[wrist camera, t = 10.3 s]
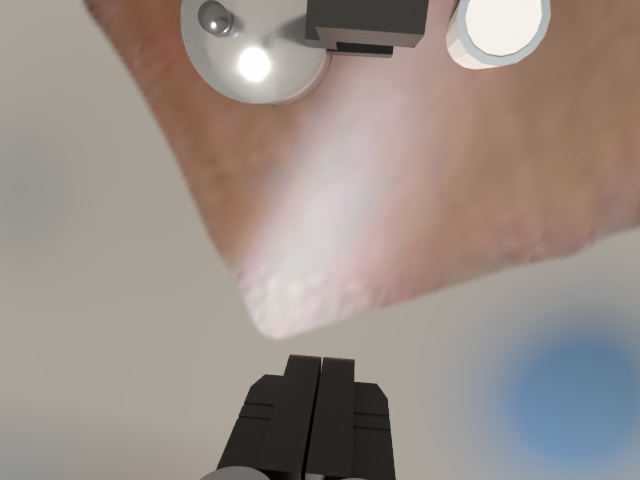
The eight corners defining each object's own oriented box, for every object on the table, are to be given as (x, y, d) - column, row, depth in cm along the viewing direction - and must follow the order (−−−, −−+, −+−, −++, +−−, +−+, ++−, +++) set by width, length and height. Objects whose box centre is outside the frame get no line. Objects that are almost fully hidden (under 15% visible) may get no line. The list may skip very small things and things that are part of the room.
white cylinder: (459, -19, 38) (482, -51, 32) (531, 11, 39) (569, -14, 32) (425, 59, 40) (440, 45, 33) (494, 88, 40) (523, 80, 34)
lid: (419, -45, 30) (442, -104, 22) (399, 116, 33) (413, 112, 25) (186, -60, 31) (130, -123, 23) (185, 98, 34) (135, 89, 26)
